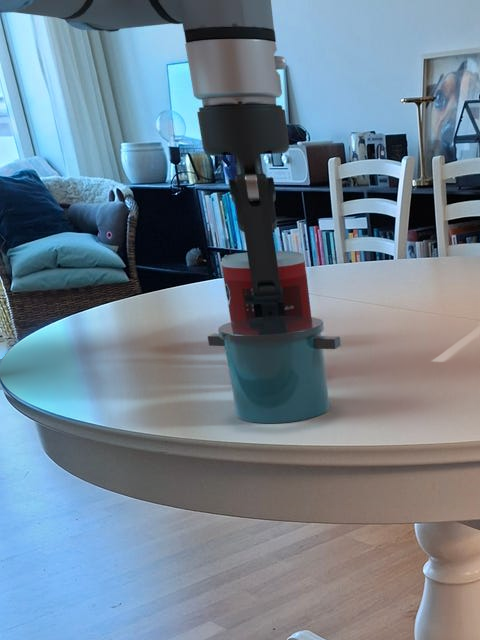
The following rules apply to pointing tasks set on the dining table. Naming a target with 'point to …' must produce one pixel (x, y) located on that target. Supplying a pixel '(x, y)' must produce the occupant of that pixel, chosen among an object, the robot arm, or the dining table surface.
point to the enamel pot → (276, 367)
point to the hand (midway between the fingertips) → (277, 363)
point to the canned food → (290, 281)
